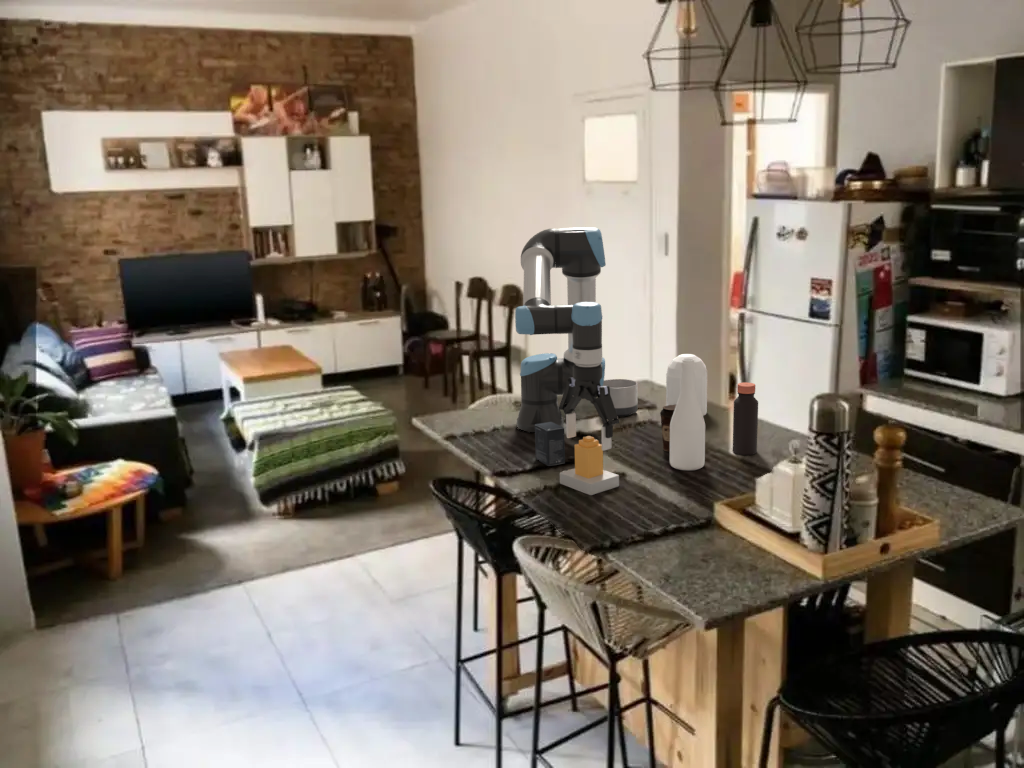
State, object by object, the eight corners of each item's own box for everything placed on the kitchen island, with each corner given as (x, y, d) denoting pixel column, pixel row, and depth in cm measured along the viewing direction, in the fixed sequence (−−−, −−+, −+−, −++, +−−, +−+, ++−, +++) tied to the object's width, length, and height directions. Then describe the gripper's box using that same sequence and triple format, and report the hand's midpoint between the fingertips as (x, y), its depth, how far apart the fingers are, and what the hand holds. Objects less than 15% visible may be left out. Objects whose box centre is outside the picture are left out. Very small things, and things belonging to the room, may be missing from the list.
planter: (639, 418, 298) (639, 387, 295) (600, 419, 298) (600, 388, 295) (635, 408, 310) (635, 378, 308) (597, 409, 310) (597, 379, 308)
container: (665, 407, 310) (665, 350, 305) (705, 407, 308) (706, 349, 303) (666, 417, 297) (667, 358, 292) (708, 418, 295) (709, 358, 290)
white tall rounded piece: (684, 473, 243) (685, 365, 236) (662, 464, 252) (663, 358, 244) (711, 467, 248) (713, 360, 240) (689, 458, 256) (691, 354, 249)
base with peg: (552, 480, 241) (551, 452, 240) (580, 472, 247) (580, 444, 245) (590, 495, 230) (590, 465, 228) (619, 486, 236) (618, 456, 234)
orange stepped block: (575, 473, 237) (574, 437, 235) (589, 469, 240) (589, 433, 238) (588, 478, 233) (587, 441, 231) (603, 474, 236) (602, 437, 234)
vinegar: (758, 449, 261) (760, 382, 256) (754, 456, 255) (756, 388, 250) (735, 447, 264) (736, 380, 259) (730, 454, 258) (731, 386, 253)
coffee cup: (688, 455, 259) (689, 411, 255) (659, 454, 260) (659, 410, 257) (689, 445, 267) (689, 403, 264) (660, 445, 268) (660, 402, 265)
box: (565, 463, 255) (564, 427, 253) (547, 466, 253) (547, 430, 250) (552, 456, 262) (551, 420, 260) (535, 459, 260) (534, 423, 257)
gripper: (544, 358, 237) (546, 435, 243) (610, 374, 218) (611, 457, 223) (566, 353, 242) (568, 429, 247) (632, 369, 222) (633, 451, 228)
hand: (588, 443), depth 235 cm, fingers open, 13 cm apart
